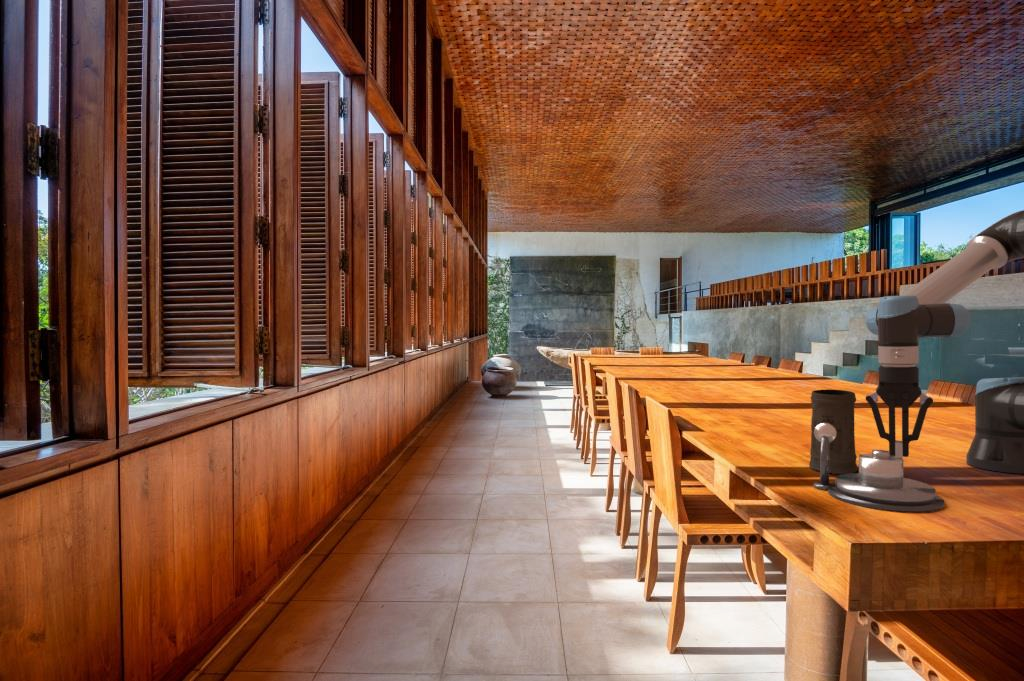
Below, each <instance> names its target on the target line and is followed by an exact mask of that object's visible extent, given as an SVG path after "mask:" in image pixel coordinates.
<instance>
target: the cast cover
mask: <svg viewBox="0 0 1024 681" xmlns="http://www.w3.org/2000/svg"><path fill="white" fill-rule="evenodd" d="M858 473H859V483H860V484H862V485H865V486H869V487H874V488H880V489H901V488H903V478H904V458H903V459H902V458H899V457H895V456H890V452H889V450H885V449H872V451H871V453H862V454H859V455H858Z"/></svg>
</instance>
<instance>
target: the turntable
mask: <svg viewBox="0 0 1024 681" xmlns="http://www.w3.org/2000/svg"><path fill="white" fill-rule="evenodd" d="M834 481H835V482H834V483H835V488H836V490H837V491H838V492H840V493H842V494H844V495H847V496H849V497H853V498H856V499H860V500H864V501H869V502H875V503H881V504H889V505H900V506H922V505H929V504H932V503H934V502H935V501H936V495H937V492H936V491H937V490H936V488H935V487H933V486H932V485H930V484H928V483H926V482H922V481H919V480H916V479H911V478H906V477H903V488H901V489H880V488H874V487H869V486H865V485H862V484H860V483H859V472H857V473H856V472H854V473H850V474H838V475H837V476H836V477H835V480H834Z"/></svg>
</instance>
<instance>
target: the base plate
mask: <svg viewBox="0 0 1024 681" xmlns="http://www.w3.org/2000/svg"><path fill="white" fill-rule="evenodd" d="M831 483H832V484H835V482H831ZM832 486H833V485H832ZM827 493H828V494H829V495H830V496H831V497H832V498H835V499H836V500H839V501H841V502H845V503H848V504H850V505H854V506H859V507H864V508H867V509H872V508H873V509H874V510H878V509H879V511H885V510H886V511H887V512H893V511H897V512H896V513H906V512H926V513H932V512H931V511H935V512H937V511H936V510H939V511H941V510H940V509H942V508H943V509H944V508H945V507H944V506H945V503H946V502H945V500H944V498H943V497H941V496H939V495H937V494H936V501H935V502H934V503H932V504H929V505H922V506H900V505H889V504H881V503H875V502H869V501H864V500H860V499H856V498H853V497H849V496H847V495H844V494H842V493H840V492H838V491H837V490H836V488H835V487H830V485H829V487H828V491H827ZM943 509H942V510H943ZM886 511H885V512H886Z"/></svg>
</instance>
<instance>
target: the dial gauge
mask: <svg viewBox="0 0 1024 681" xmlns="http://www.w3.org/2000/svg"><path fill="white" fill-rule="evenodd" d="M814 435H815V437H816V439H817V440H818V441H820V442H821V447H820V471H819V481H816V482H815V481H814V482H813V488H814V487H815V488H814V489H816V488H817V490H819V489H820V491H827V492H828V487H829V485H830V487H835V484H832V483H833V482H830V474H829V452H830V442H832V441H833V440H834V439H835V438H836V435H837V432H836V429H835V428H834V426H833V425H831V424H829V423H821V424H819V425H817V426H816V427H815V429H814ZM832 485H833V486H832Z"/></svg>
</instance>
